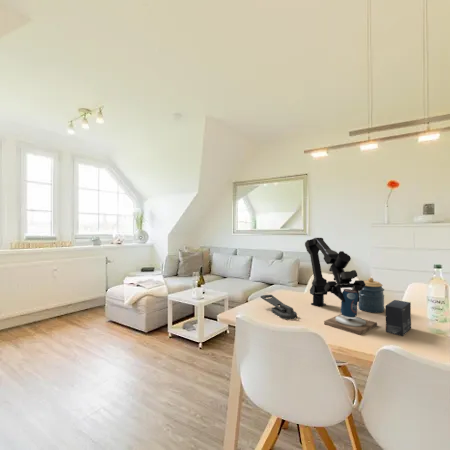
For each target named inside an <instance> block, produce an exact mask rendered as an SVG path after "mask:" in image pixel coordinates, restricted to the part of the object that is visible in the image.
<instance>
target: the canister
mask: <svg viewBox="0 0 450 450" xmlns="http://www.w3.org/2000/svg"><path fill="white" fill-rule="evenodd" d="M363 281H364V282H365V284H366V285H365V286H364V287H363V289H362V290H360V291H359V302H358V303H357V307H358V309H359V310H361V311H363V312H368V313H377V314H378V313H383V312H385V294H384V291H385V288H383V284H382V283H381V282H379V281H376V280H374V278H373V277H368V280H363Z"/></svg>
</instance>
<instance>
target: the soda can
mask: <svg viewBox="0 0 450 450" xmlns="http://www.w3.org/2000/svg"><path fill="white" fill-rule="evenodd" d="M341 292H342V294H343V297H344V299H345V302H343V301H342V300H340V301H341V302H340V314H342V315H343V316H345V317H350V318H354V317H355V316H356V317H357V315H358V303H359V302H358V294H357V291H355V290H352V288H343V291H341Z"/></svg>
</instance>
